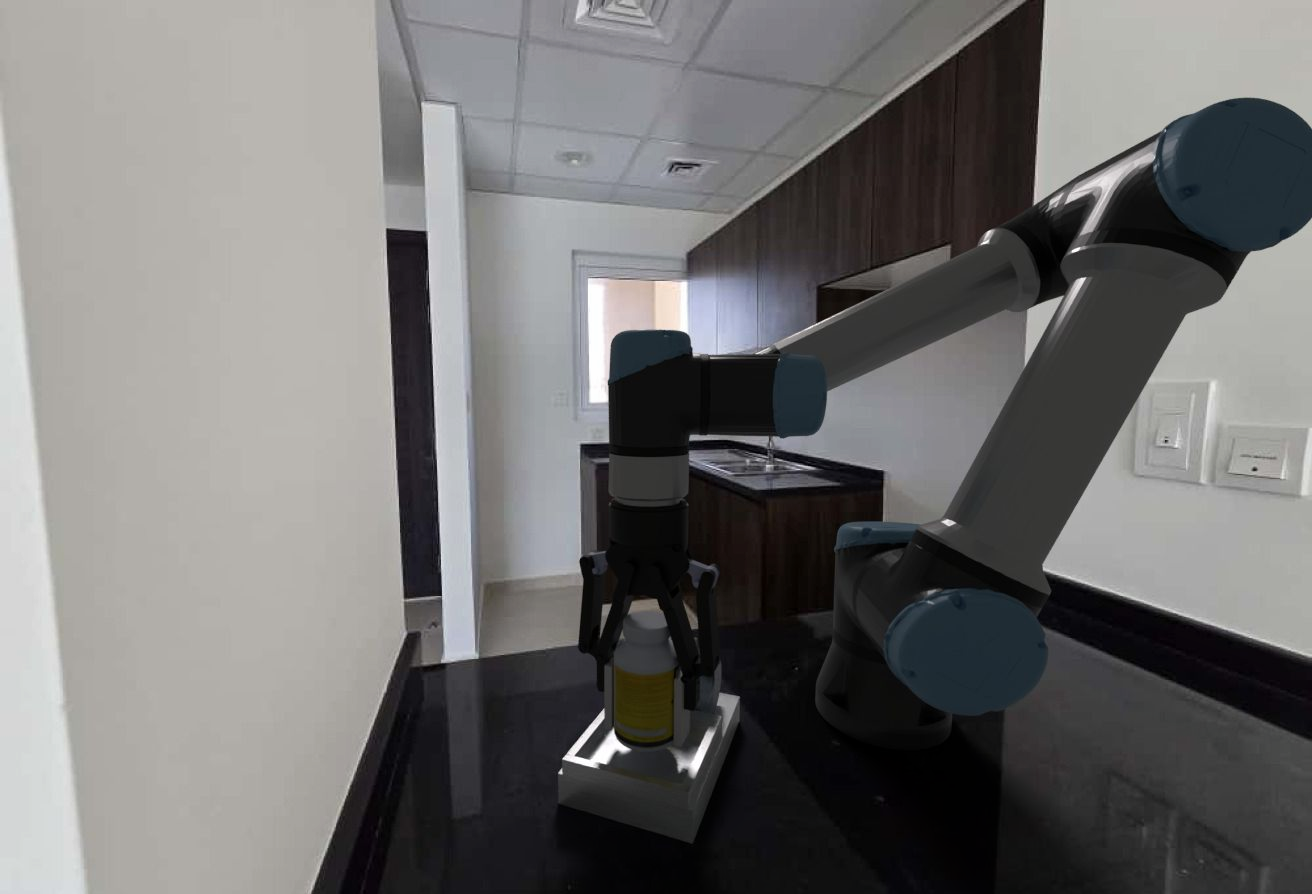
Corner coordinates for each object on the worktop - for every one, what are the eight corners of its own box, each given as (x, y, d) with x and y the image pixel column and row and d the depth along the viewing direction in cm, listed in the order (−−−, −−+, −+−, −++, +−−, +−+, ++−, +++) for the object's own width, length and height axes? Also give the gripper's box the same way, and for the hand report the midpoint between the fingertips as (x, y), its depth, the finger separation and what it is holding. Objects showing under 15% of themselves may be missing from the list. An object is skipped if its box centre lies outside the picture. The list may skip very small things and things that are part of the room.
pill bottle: (673, 760, 51) (675, 637, 50) (605, 750, 52) (605, 631, 51) (684, 719, 57) (685, 610, 56) (623, 712, 58) (623, 604, 57)
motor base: (692, 843, 47) (694, 727, 46) (558, 803, 52) (557, 697, 51) (739, 721, 65) (741, 635, 64) (636, 699, 69) (636, 618, 68)
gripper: (759, 498, 53) (752, 729, 55) (576, 485, 59) (577, 691, 61) (742, 514, 46) (736, 779, 48) (537, 497, 52) (540, 729, 54)
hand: (646, 729), depth 55 cm, fingers closed on pill bottle, 6 cm apart
